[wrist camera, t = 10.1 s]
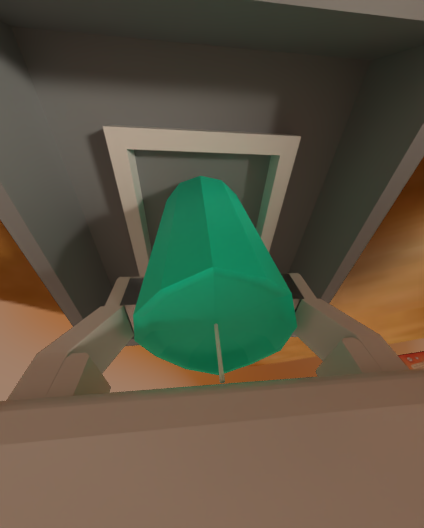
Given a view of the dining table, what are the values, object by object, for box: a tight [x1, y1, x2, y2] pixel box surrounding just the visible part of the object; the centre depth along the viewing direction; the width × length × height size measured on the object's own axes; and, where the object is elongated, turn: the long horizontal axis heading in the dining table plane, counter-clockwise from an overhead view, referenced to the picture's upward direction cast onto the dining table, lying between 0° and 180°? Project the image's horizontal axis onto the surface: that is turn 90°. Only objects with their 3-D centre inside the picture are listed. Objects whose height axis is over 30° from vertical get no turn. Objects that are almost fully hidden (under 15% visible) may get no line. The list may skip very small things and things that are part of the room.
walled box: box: [0, 0, 424, 346], centre depth 14 cm, size 20×20×6 cm
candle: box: [133, 176, 297, 383], centre depth 10 cm, size 6×6×12 cm
